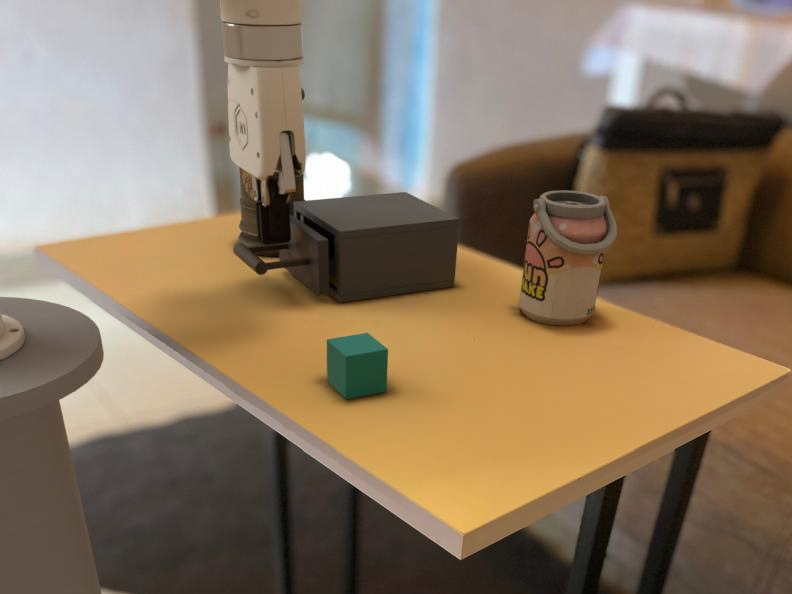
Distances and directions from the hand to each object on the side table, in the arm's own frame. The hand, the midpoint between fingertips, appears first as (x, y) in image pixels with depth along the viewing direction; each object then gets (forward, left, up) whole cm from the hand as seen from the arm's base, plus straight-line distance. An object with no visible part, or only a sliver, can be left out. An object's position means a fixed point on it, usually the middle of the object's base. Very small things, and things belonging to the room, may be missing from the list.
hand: (274, 241), depth 90 cm
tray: (+6, +1, -4) cm, 8 cm away
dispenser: (+12, +2, -5) cm, 13 cm away
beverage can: (+28, -14, -6) cm, 32 cm away
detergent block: (+2, -26, -5) cm, 27 cm away
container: (+3, +16, -6) cm, 17 cm away
